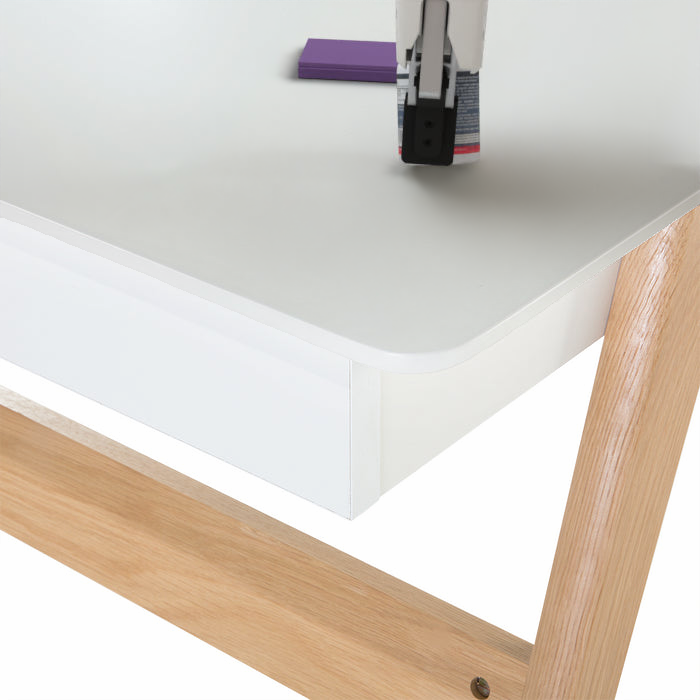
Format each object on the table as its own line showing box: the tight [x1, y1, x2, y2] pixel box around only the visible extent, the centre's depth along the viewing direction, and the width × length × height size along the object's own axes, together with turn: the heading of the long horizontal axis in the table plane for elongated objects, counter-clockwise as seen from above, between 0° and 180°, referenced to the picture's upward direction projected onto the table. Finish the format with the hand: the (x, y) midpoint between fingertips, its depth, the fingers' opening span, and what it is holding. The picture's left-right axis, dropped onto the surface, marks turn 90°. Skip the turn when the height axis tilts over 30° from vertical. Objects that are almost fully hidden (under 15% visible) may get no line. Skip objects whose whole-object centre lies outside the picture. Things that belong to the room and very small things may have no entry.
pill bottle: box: [396, 63, 481, 166], centre depth 79 cm, size 5×5×9 cm
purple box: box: [297, 37, 399, 83], centre depth 96 cm, size 12×6×1 cm, turn 83°
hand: (427, 158), depth 76 cm, fingers closed
